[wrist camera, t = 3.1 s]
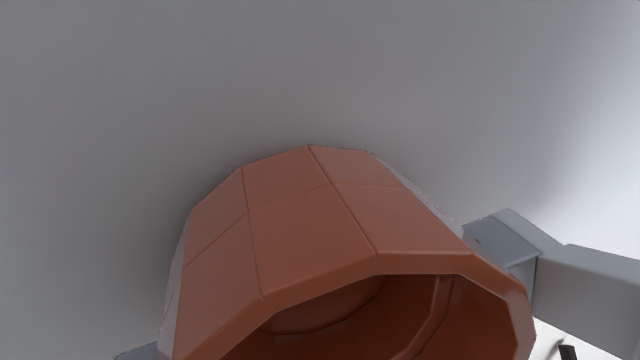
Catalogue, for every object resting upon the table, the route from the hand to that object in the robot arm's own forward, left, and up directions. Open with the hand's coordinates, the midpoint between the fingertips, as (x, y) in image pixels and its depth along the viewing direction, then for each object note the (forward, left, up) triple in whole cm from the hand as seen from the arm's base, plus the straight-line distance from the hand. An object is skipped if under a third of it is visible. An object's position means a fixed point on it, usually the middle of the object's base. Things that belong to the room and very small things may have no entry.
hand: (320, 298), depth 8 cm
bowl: (0, 0, -2) cm, 2 cm away
